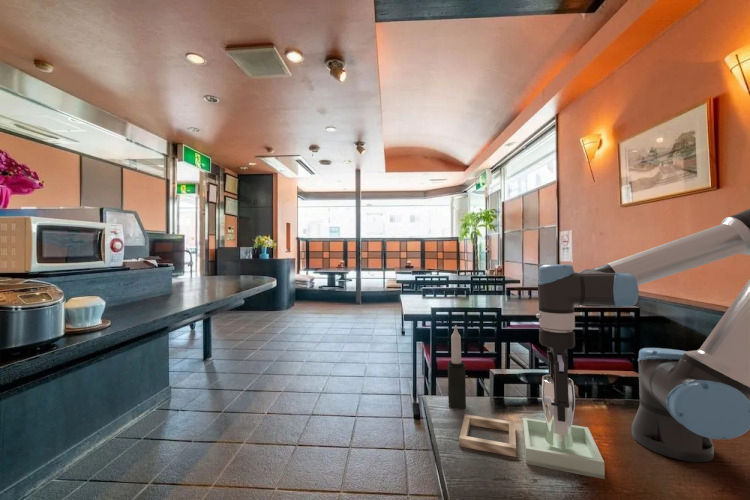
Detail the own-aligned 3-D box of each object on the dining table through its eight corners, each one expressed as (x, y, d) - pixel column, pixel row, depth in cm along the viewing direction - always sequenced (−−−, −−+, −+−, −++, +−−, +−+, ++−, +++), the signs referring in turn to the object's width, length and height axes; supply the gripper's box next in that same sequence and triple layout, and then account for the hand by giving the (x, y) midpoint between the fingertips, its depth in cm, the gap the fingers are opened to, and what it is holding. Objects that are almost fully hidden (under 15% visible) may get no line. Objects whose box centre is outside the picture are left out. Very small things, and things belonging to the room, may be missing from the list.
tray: (588, 441, 84) (587, 427, 84) (604, 479, 70) (604, 462, 70) (523, 430, 90) (522, 417, 90) (526, 463, 76) (525, 448, 76)
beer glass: (580, 452, 76) (579, 386, 76) (547, 449, 77) (546, 384, 77) (569, 436, 83) (568, 374, 83) (539, 433, 84) (537, 373, 84)
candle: (466, 409, 102) (464, 327, 103) (449, 408, 103) (447, 326, 103) (464, 402, 107) (463, 323, 108) (448, 401, 108) (447, 323, 108)
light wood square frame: (514, 429, 90) (514, 422, 90) (516, 456, 78) (516, 448, 78) (465, 421, 95) (465, 414, 95) (459, 446, 83) (459, 438, 83)
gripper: (535, 320, 91) (537, 406, 90) (543, 337, 73) (545, 444, 72) (567, 322, 88) (569, 410, 88) (583, 340, 70) (586, 451, 69)
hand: (558, 425), depth 80 cm, fingers closed on beer glass, 6 cm apart
